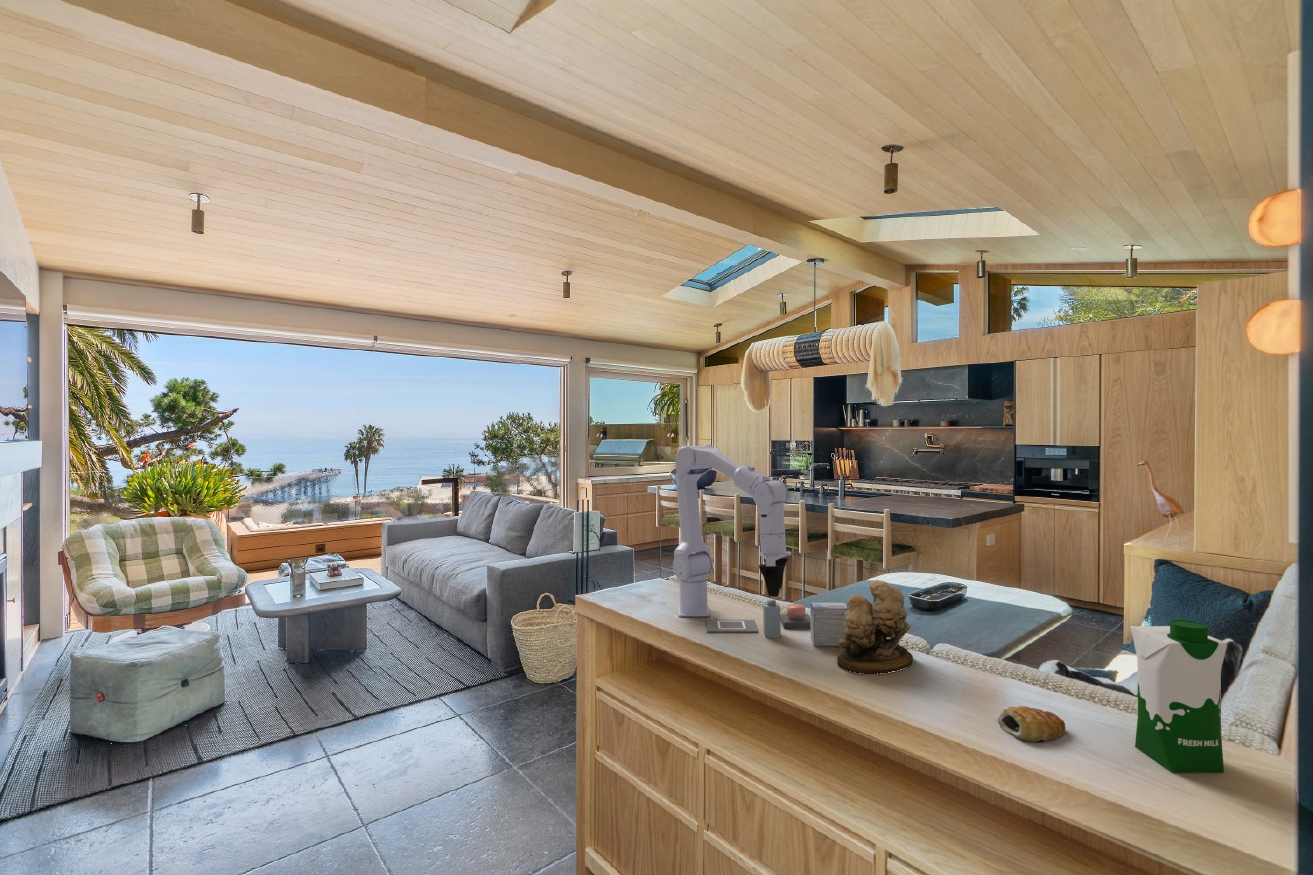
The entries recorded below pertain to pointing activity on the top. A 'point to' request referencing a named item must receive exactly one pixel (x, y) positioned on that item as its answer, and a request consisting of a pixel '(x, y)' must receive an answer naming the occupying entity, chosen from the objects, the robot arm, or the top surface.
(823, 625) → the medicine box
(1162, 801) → the top surface
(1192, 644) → the milk carton
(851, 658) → the owl figurine
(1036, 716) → the pastry
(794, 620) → the button base
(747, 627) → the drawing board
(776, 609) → the grey rectangular block
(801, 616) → the button
